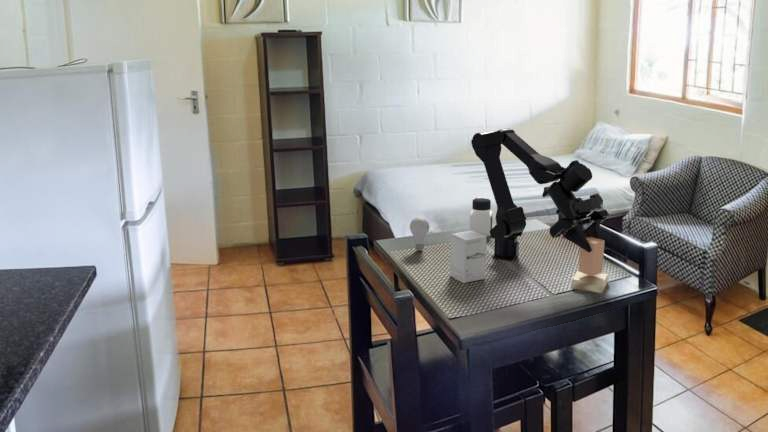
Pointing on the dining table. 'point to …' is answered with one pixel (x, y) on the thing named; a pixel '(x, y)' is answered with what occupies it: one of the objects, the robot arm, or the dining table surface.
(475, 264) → the supplement box
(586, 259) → the terracotta pillar
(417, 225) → the lightbulb
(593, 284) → the beech block
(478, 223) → the medicine bottle
